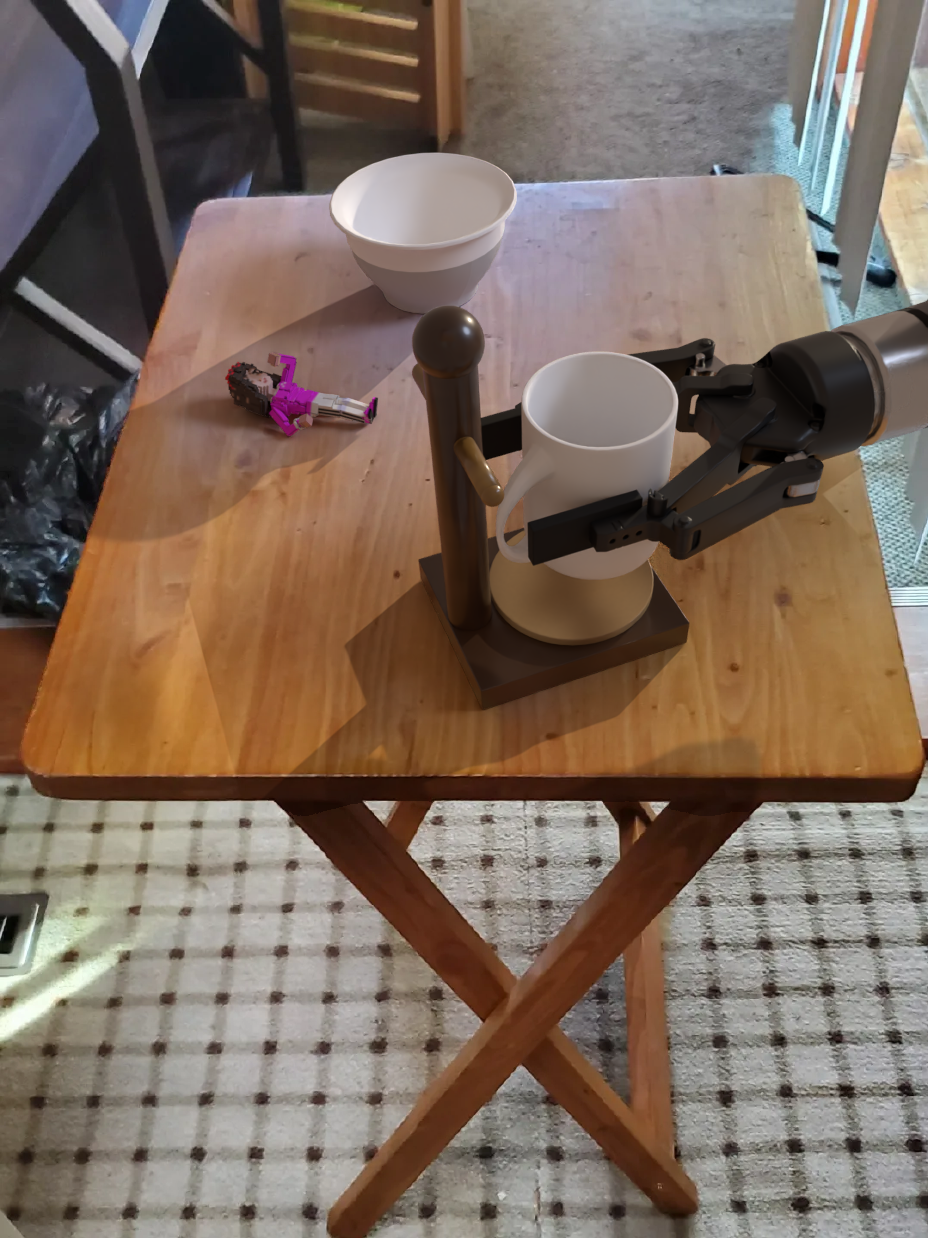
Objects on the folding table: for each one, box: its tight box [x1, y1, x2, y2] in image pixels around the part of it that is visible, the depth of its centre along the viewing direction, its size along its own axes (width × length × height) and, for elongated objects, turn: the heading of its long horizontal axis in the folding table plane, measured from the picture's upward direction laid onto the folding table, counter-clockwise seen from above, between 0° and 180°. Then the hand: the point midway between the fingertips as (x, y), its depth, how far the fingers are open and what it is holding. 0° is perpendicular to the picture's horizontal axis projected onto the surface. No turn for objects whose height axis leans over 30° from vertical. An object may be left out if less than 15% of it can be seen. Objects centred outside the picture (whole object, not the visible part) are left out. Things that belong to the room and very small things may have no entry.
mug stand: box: [411, 305, 690, 711], centre depth 62 cm, size 14×12×24 cm
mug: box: [495, 351, 678, 580], centre depth 63 cm, size 9×12×11 cm
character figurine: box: [224, 351, 379, 437], centre depth 84 cm, size 6×5×12 cm
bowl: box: [328, 152, 518, 315], centre depth 94 cm, size 16×16×8 cm
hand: (499, 491), depth 62 cm, fingers closed on mug, 9 cm apart
